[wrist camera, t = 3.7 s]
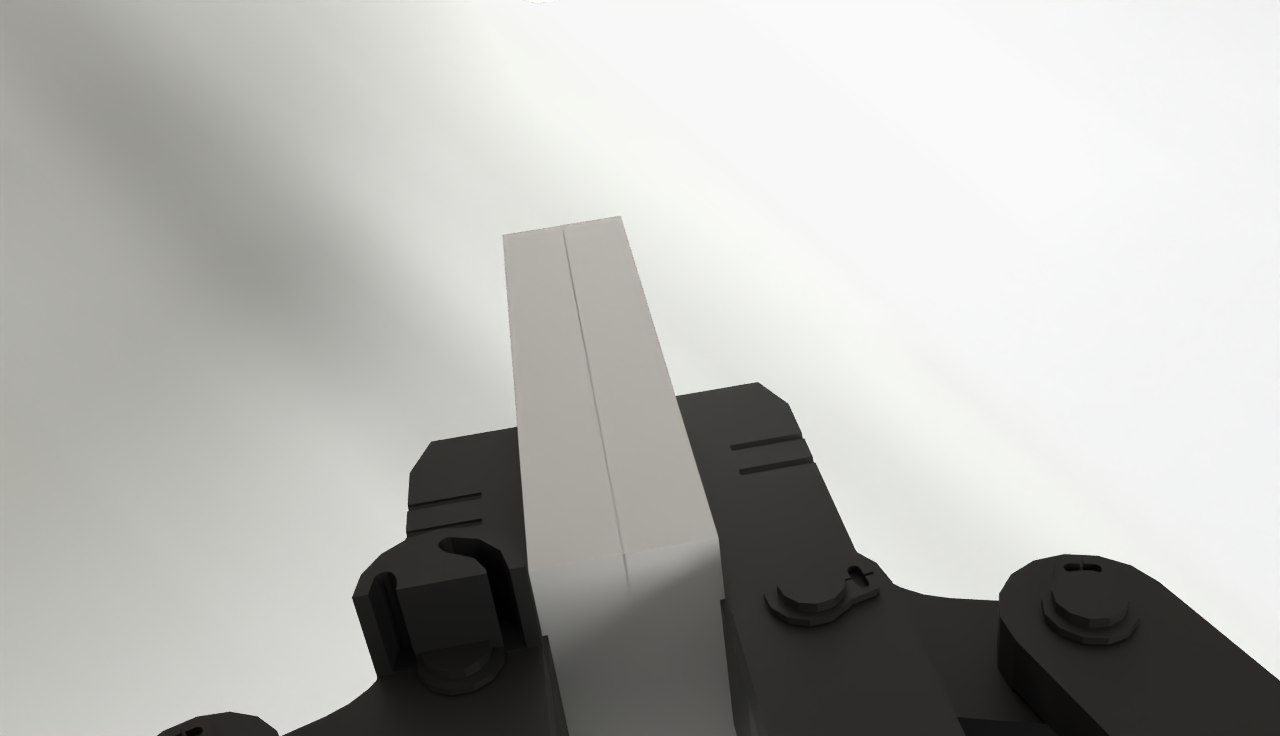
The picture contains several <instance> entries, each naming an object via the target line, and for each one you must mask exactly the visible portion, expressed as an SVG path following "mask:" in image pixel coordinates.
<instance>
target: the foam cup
mask: <svg viewBox="0 0 1280 736" xmlns="http://www.w3.org/2000/svg"><path fill="white" fill-rule="evenodd" d="M525 1H530V2H534V3H542V2H548V1H554V0H525Z"/></svg>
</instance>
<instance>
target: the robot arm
mask: <svg viewBox="0 0 1280 736" xmlns="http://www.w3.org/2000/svg"><path fill="white" fill-rule="evenodd" d="M503 247H504V260H505V273H506V286H507V299H508V312H509V325H510V338H511V351H512V364H513V377H514V390H515V403H516V416H517V427H514V428H508V429H502V430H496V431H490V432H485V433H479V434H473V435H467V436H461V437H456V438H450V439H444V440H438V441H432V442H431V443H430V444H429V446H428V447H427V449H426V450H425V452H424V453H423V454H422V456H421V457H420V459H419V460H418V462H417V463H416V465H415V466H414V468H413V469H412V471H411V472H410V478H409V493H408V509H409V511H408V512H407V524H406V534H407V538H406V540H405V541H403V542H401V543H400V544H398V545H396V546H394V547H393V548H391V549H389V550H387V551H386V552H384V553H382V554H381V555H380V556H379V557H378V558H377V559H376V560H375V561H374V562H373V563H372V564H371V565H370V566H369V567H368V568H367V569H366V570H365V571H364V572H363V573H362V574H361V576H360V579H359V581H358V584H357V586H356V589H355V591H354V594H353V596H352V599H353V602H354V605H355V609H356V612H357V615H358V618H359V621H360V624H361V627H362V630H363V634H364V637H365V640H366V643H367V646H368V649H369V652H370V655H371V659H372V662H373V665H374V668H375V671H376V674H377V680H376V682H375V683H374V684H373V685H372V686H371V687H370V688H369V689H368V690H367V691H365V692H364V693H363V694H361V695H360V696H359V697H357V698H356V699H355V700H354V701H352V702H351V703H350V704H348V705H346V706H344V707H342V708H341V709H339V710H337V711H335V712H333V713H331V714H329V715H328V716H326V717H323V718H321V719H319V720H317V721H314V722H312V723H310V724H308V725H305V726H303V727H301V728H298V729H296V730H294V731H292V732H289V733H287V734H285V735H283V736H1280V681H1279V680H1278V679H1277V678H1276V677H1275V676H1273V675H1272V674H1271V673H1270V672H1268V671H1267V670H1266V669H1265V668H1264V667H1262V666H1261V665H1260V664H1259V663H1257V662H1256V661H1255V660H1254V659H1253V658H1251V657H1250V656H1249V655H1248V654H1246V653H1245V652H1244V651H1243V650H1242V649H1240V648H1239V647H1238V646H1237V645H1235V644H1234V643H1233V642H1232V641H1231V640H1229V639H1228V638H1227V637H1226V636H1224V635H1223V634H1222V633H1221V632H1220V631H1218V630H1217V629H1216V628H1215V627H1213V626H1212V625H1211V624H1210V623H1209V622H1207V621H1206V620H1205V619H1204V618H1202V617H1201V616H1200V615H1199V614H1198V613H1196V612H1195V611H1194V610H1193V609H1191V608H1190V607H1189V606H1188V605H1187V604H1185V603H1184V602H1183V601H1182V600H1180V599H1179V598H1178V597H1177V596H1176V595H1174V594H1173V593H1172V592H1171V591H1169V590H1168V589H1167V588H1166V587H1165V586H1163V585H1162V584H1161V583H1160V582H1158V581H1156V580H1155V579H1153V578H1151V577H1150V576H1148V575H1146V574H1145V573H1143V572H1141V571H1140V570H1138V569H1136V568H1135V567H1133V566H1131V565H1128V564H1124V563H1121V562H1117V561H1114V560H1110V559H1107V558H1104V557H1100V556H1091V555H1070V554H1063V555H1058V556H1053V557H1049V558H1044V559H1039V560H1035V561H1032V562H1031V563H1029V564H1027V565H1026V566H1024V567H1023V568H1021V569H1019V570H1018V571H1016V572H1014V573H1013V574H1011V575H1010V577H1009V579H1008V580H1007V582H1006V584H1005V585H1004V587H1003V589H1002V590H1001V592H1000V593H999V601H991V600H973V599H956V598H945V597H937V596H930V595H923V594H920V593H917V592H914V591H910V590H907V589H904V588H901V587H899V586H897V585H895V584H893V583H892V581H891V580H890V579H889V578H888V576H887V575H886V574H885V573H884V572H883V570H882V569H881V568H880V567H879V565H878V564H877V563H876V562H874V561H872V560H870V559H868V558H866V557H865V556H863V555H861V554H859V553H857V551H856V550H855V548H854V546H853V544H852V541H851V539H850V537H849V535H848V533H847V530H846V528H845V526H844V524H843V522H842V520H841V517H840V515H839V513H838V511H837V509H836V507H835V504H834V502H833V500H832V498H831V496H830V493H829V491H828V489H827V487H826V485H825V483H824V480H823V478H822V476H821V474H820V472H819V470H818V467H817V465H816V463H814V462H813V456H812V454H811V452H810V450H809V448H808V446H807V443H806V441H805V439H803V438H802V432H801V430H800V428H799V426H798V424H797V422H796V419H795V417H794V415H793V413H792V411H791V409H790V406H789V404H788V403H786V402H785V401H784V400H782V399H781V398H779V397H778V396H777V395H775V394H774V393H772V392H771V391H770V390H768V389H767V388H765V387H764V386H763V385H761V384H760V383H758V382H756V383H750V384H744V385H738V386H732V387H727V388H721V389H715V390H709V391H703V392H697V393H692V394H686V395H680V396H675V393H674V390H673V386H672V383H671V380H670V377H669V373H668V370H667V367H666V363H665V360H664V357H663V354H662V350H661V347H660V344H659V340H658V337H657V334H656V331H655V327H654V324H653V321H652V317H651V314H650V311H649V308H648V304H647V301H646V298H645V294H644V291H643V288H642V285H641V281H640V278H639V275H638V271H637V268H636V265H635V262H634V258H633V255H632V252H631V248H630V245H629V242H628V239H627V235H626V232H625V229H624V225H623V222H622V219H621V216H617V217H611V218H604V219H598V220H592V221H586V222H580V223H574V224H568V225H562V226H556V227H549V228H543V229H537V230H531V231H525V232H519V233H513V234H507V235H503ZM157 736H279V735H278V732H277V731H276V730H275V729H274V728H272V727H271V726H270V725H268V724H267V723H266V722H264V721H263V720H262V719H260V718H259V717H257V716H251V715H246V714H240V713H234V712H225V713H218V714H212V715H205V716H199V717H195V718H193V719H191V720H188V721H186V722H183V723H181V724H179V725H176V726H174V727H172V728H169V729H167V730H165V731H163V732H161V733H160V734H159V735H157Z"/></svg>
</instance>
